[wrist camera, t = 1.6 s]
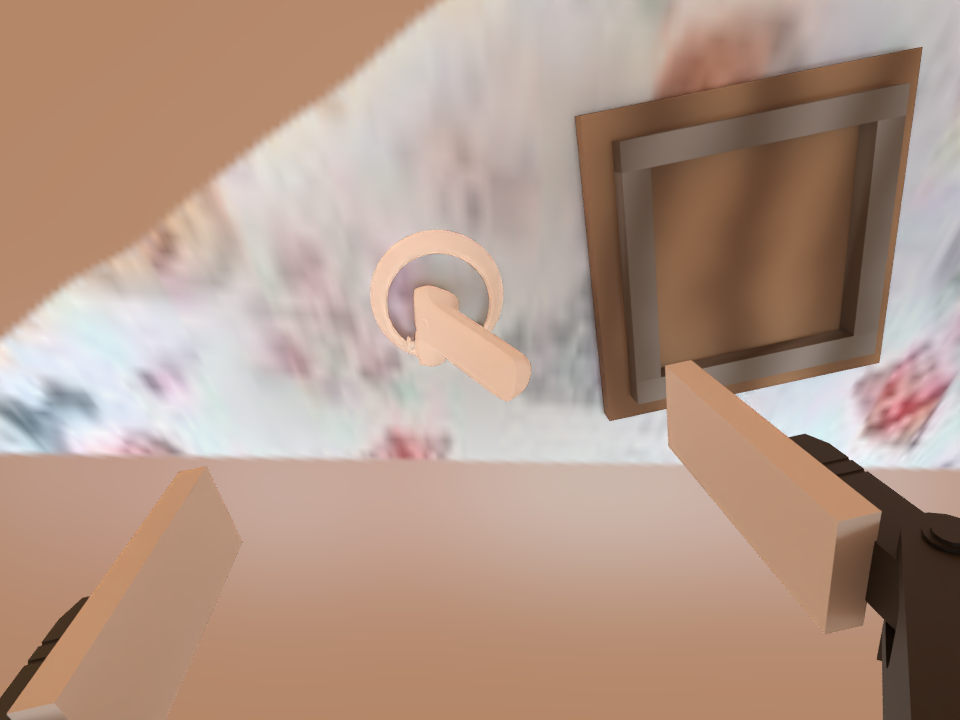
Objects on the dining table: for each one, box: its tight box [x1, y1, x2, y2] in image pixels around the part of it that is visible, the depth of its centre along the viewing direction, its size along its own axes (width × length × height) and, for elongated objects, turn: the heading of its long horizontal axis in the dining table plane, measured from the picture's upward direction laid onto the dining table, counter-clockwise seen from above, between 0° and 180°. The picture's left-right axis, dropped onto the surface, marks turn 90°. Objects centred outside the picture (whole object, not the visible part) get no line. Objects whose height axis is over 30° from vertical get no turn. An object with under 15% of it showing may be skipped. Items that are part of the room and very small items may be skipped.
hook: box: [370, 230, 531, 401], centre depth 28 cm, size 8×12×7 cm
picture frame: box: [575, 47, 923, 421], centre depth 30 cm, size 18×18×2 cm
